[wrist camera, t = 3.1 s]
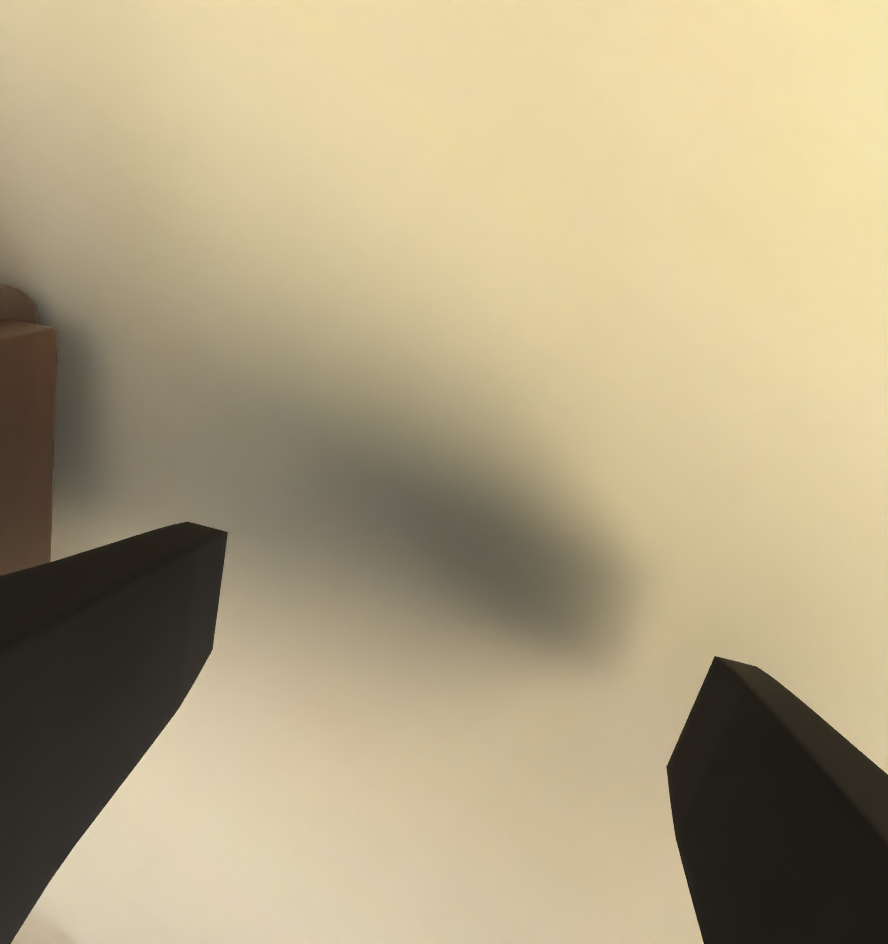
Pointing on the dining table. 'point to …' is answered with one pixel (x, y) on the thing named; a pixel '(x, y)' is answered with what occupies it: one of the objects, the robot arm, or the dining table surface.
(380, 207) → the dining table surface
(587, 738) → the dining table surface
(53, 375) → the chair
